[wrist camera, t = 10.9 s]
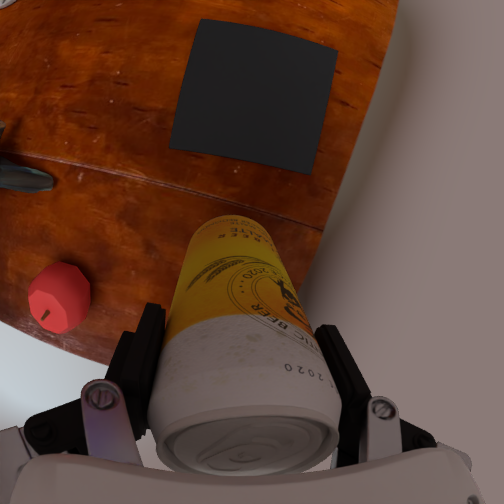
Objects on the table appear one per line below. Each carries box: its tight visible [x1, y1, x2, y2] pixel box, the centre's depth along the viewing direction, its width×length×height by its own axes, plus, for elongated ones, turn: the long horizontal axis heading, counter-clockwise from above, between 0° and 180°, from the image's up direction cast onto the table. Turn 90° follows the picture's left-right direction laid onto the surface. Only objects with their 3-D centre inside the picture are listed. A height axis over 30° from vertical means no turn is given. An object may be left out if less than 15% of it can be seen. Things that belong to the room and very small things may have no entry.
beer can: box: [147, 215, 342, 476], centre depth 13 cm, size 6×6×15 cm
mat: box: [169, 19, 338, 175], centre depth 23 cm, size 14×14×1 cm
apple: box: [28, 261, 91, 334], centre depth 25 cm, size 8×8×8 cm
